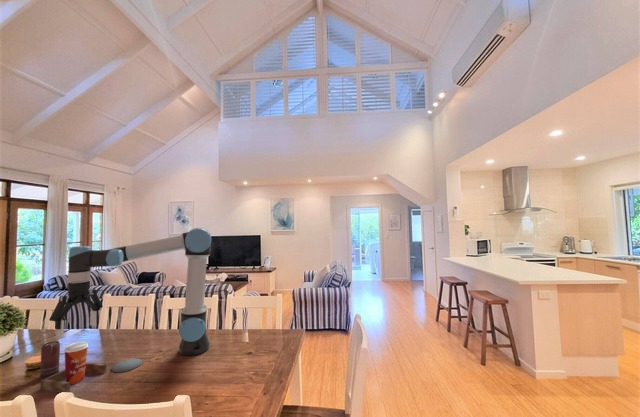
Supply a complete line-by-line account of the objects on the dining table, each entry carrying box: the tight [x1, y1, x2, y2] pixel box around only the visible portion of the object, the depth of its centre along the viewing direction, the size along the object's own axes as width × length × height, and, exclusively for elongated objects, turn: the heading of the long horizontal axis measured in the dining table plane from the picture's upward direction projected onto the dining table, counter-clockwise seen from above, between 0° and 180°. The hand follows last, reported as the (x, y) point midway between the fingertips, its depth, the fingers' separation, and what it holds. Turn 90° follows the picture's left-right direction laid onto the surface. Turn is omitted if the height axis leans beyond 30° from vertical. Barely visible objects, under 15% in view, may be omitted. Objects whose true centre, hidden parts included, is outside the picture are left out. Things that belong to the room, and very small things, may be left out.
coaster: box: [111, 358, 143, 373], centre depth 134 cm, size 12×12×1 cm
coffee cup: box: [63, 341, 89, 385], centre depth 123 cm, size 8×8×15 cm
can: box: [39, 340, 61, 380], centre depth 127 cm, size 6×6×14 cm
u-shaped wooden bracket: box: [40, 361, 107, 393], centre depth 122 cm, size 14×16×4 cm
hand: (77, 330), depth 124 cm, fingers open, 13 cm apart
